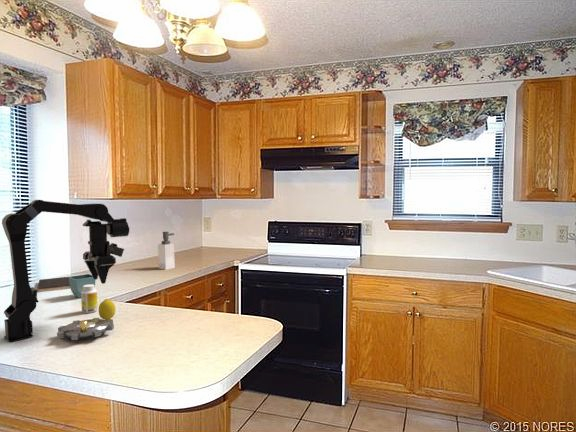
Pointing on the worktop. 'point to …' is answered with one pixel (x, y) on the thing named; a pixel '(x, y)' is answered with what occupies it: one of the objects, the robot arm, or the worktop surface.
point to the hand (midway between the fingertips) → (99, 281)
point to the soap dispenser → (166, 253)
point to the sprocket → (85, 328)
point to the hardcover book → (53, 284)
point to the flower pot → (80, 283)
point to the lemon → (106, 309)
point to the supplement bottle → (89, 299)
